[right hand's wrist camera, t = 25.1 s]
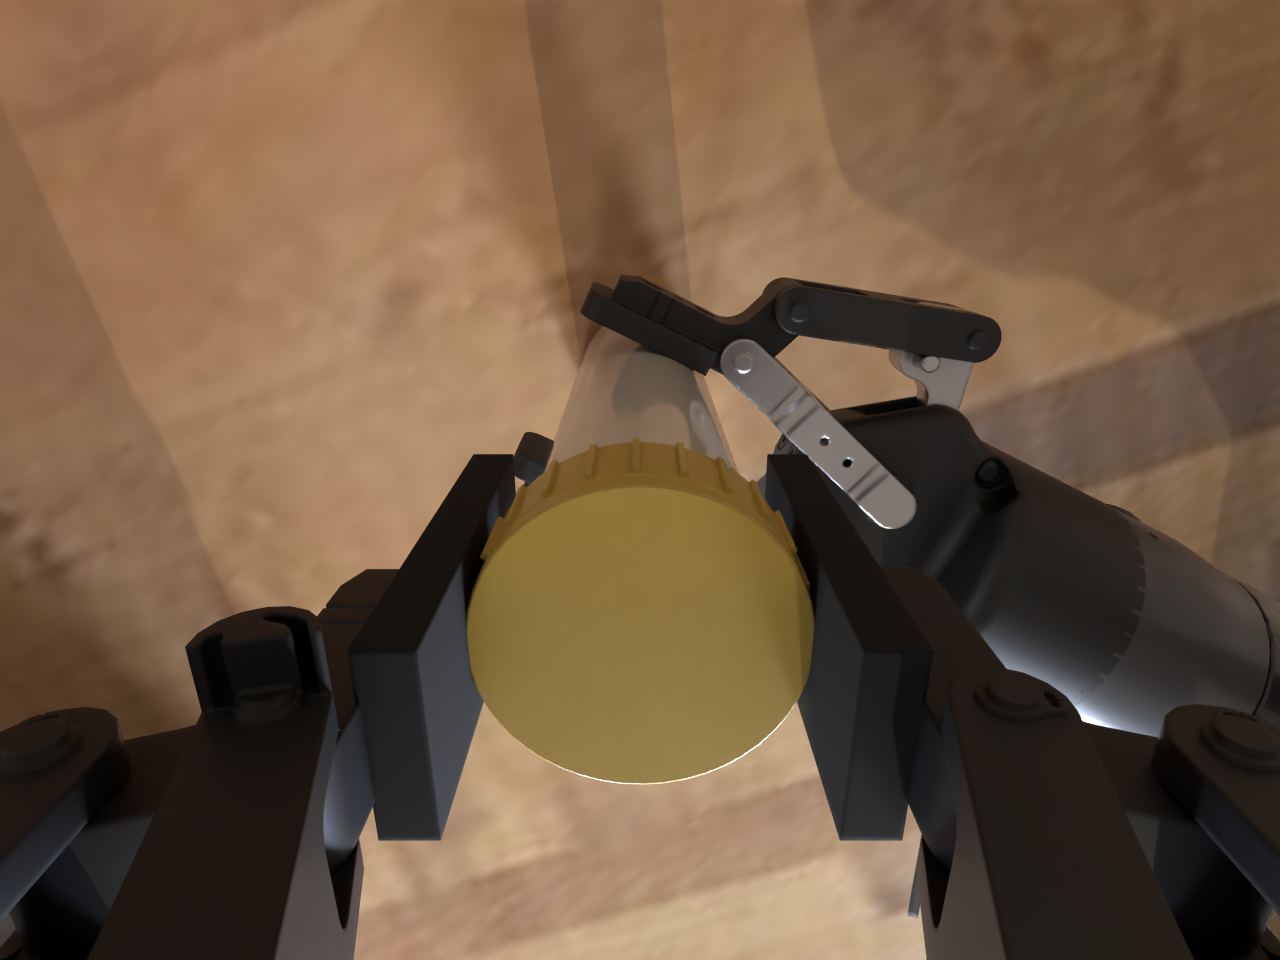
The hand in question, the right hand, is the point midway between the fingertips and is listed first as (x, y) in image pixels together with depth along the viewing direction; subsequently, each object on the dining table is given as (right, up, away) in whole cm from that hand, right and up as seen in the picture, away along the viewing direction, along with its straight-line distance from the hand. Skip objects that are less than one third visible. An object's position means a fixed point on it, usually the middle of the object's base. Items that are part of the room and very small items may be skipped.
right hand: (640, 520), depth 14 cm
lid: (0, -1, -4) cm, 4 cm away
